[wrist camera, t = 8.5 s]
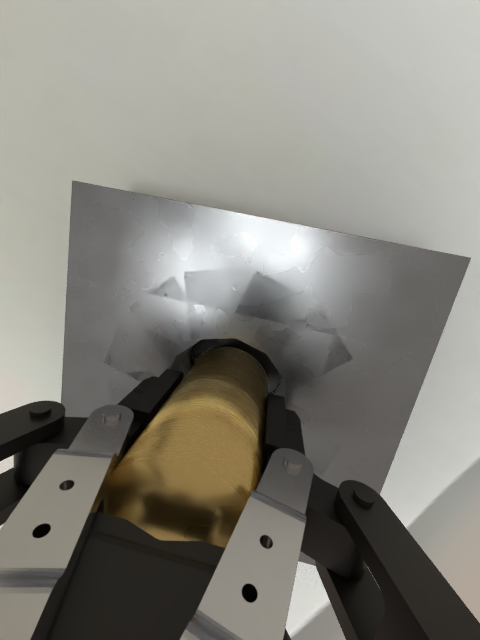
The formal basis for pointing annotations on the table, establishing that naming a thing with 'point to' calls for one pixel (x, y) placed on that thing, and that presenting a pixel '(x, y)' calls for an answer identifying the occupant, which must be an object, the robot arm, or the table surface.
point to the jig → (256, 316)
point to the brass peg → (197, 453)
